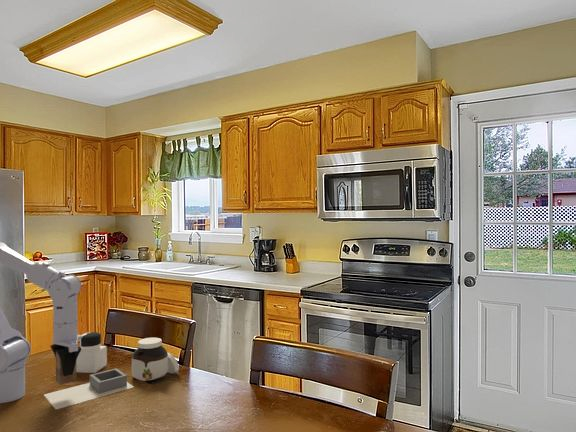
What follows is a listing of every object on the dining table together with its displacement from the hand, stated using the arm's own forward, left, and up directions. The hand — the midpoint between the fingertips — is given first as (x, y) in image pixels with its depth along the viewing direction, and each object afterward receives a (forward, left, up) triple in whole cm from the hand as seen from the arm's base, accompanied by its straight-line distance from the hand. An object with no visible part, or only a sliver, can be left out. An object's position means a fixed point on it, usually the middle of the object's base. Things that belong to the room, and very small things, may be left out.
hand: (65, 372), depth 113 cm
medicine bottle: (+12, +18, -8) cm, 23 cm away
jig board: (+6, 0, -8) cm, 10 cm away
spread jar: (+25, -1, -8) cm, 26 cm away
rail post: (0, 0, -2) cm, 2 cm away
